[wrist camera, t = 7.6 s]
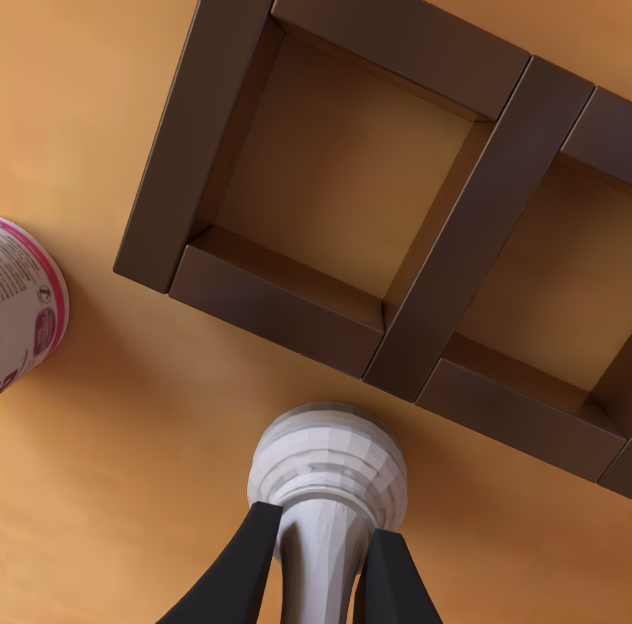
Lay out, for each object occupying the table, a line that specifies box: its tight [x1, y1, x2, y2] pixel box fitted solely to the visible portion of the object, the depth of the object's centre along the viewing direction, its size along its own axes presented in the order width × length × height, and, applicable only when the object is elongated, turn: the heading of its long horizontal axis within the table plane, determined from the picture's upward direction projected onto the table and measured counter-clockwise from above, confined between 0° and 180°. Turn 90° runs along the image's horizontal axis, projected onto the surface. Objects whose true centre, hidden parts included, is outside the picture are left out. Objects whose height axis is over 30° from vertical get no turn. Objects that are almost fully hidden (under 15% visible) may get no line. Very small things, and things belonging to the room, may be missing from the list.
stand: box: [113, 0, 632, 500], centre depth 13 cm, size 14×8×2 cm, turn 66°
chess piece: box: [247, 401, 408, 624], centre depth 11 cm, size 4×4×10 cm
